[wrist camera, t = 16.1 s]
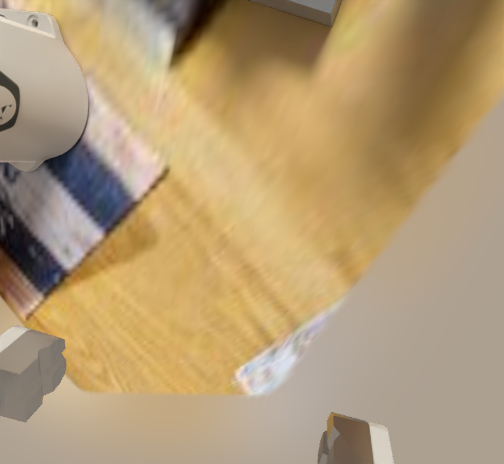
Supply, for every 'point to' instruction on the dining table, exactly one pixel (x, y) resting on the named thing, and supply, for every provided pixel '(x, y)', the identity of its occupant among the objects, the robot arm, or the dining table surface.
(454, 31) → the dining table surface
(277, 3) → the open square box
